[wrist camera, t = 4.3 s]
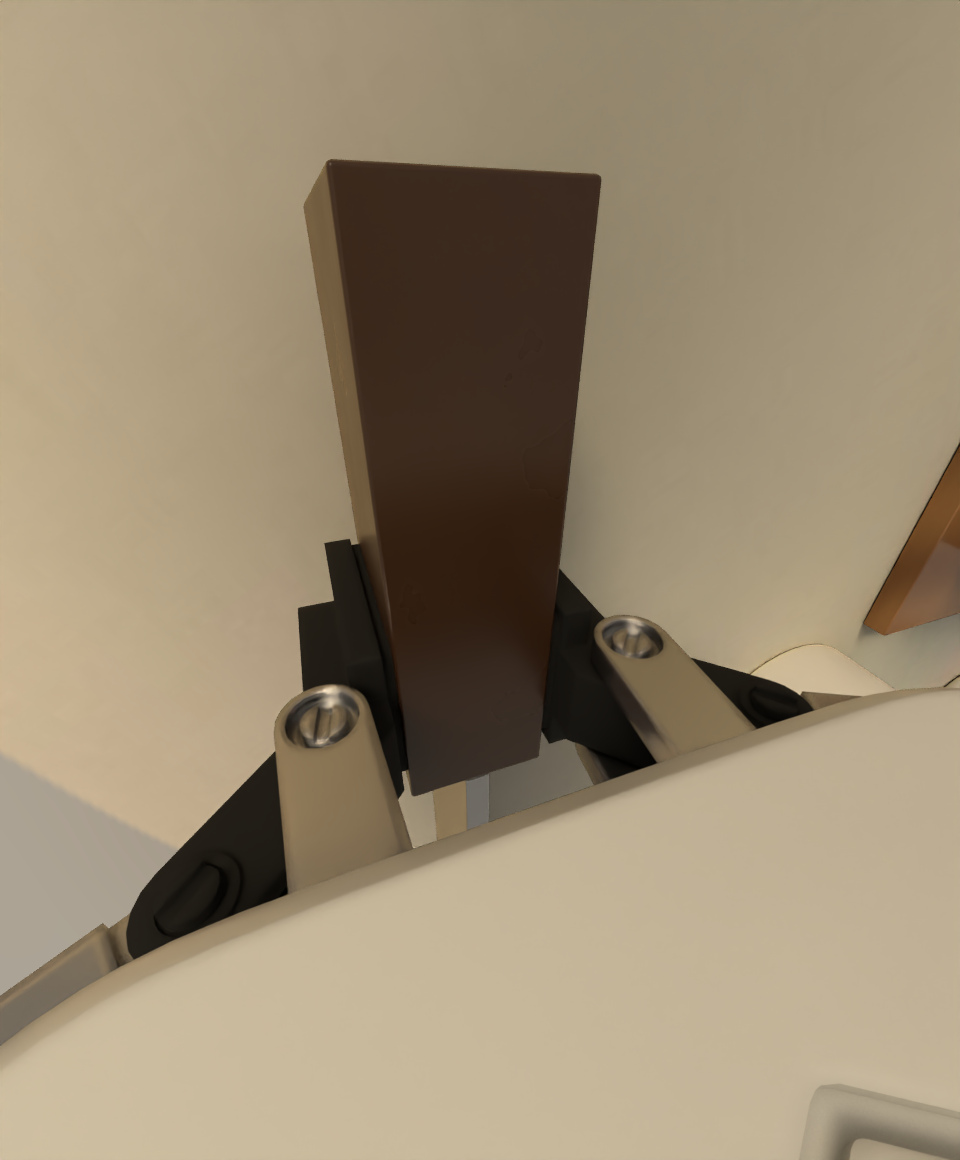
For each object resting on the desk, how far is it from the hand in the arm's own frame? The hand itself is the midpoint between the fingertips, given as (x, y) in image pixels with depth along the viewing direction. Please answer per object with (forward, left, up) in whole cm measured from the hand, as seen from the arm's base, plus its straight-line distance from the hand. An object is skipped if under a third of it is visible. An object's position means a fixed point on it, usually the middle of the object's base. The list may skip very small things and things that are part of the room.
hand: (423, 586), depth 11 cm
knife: (+5, 0, 0) cm, 5 cm away
